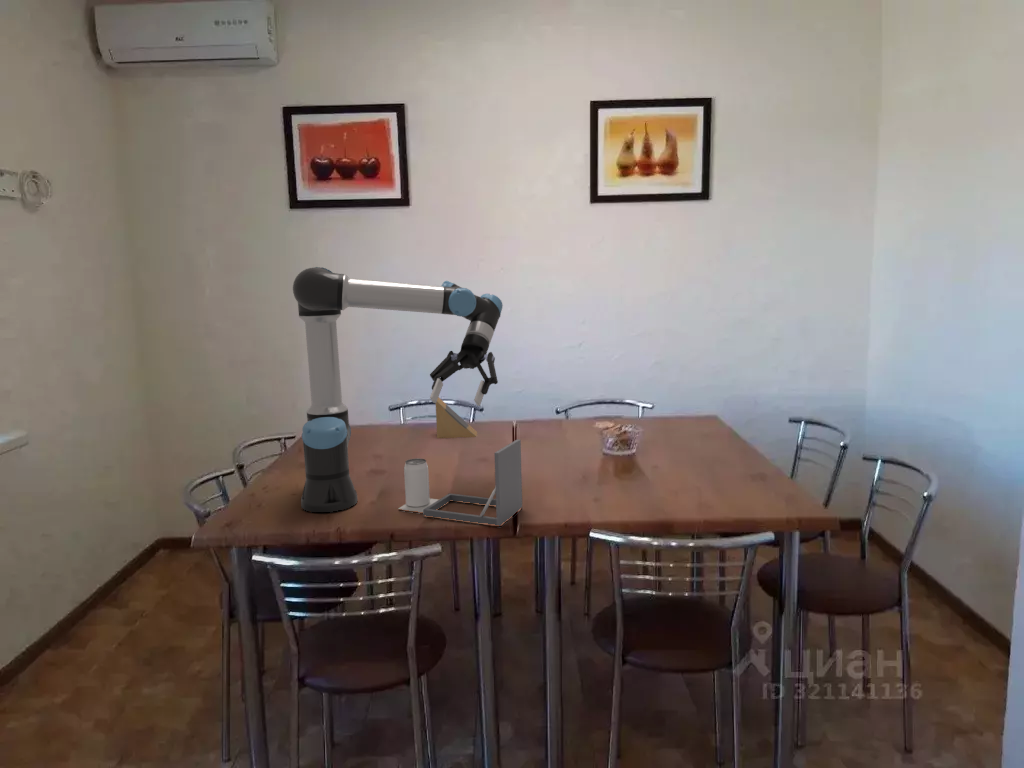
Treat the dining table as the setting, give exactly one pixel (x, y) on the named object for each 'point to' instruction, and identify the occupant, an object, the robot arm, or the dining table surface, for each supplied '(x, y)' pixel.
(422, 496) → the can
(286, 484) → the dining table surface
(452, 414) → the sandwich container
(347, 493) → the robot arm
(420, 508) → the pad
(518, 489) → the grey frame and panel
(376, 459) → the dining table surface
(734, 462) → the dining table surface
